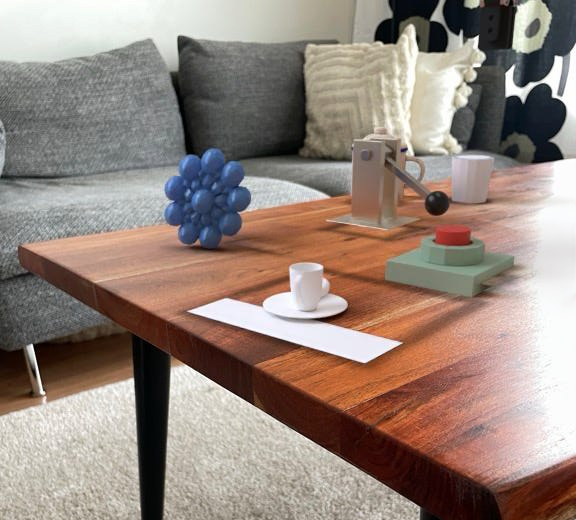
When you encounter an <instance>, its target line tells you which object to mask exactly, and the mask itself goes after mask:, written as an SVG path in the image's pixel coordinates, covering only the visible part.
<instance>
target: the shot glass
mask: <svg viewBox="0 0 576 520" xmlns="http://www.w3.org/2000/svg"><path fill="white" fill-rule="evenodd" d="M494 162H495V157H494V156H491V155H485V154H456V155H452V156H451V201H452V202H456V203H457V202H458V203H465V204H467V203H468V204H481V203H482V204H484V203H486V202H487V197H488V193H489V187H490V183H491V177H492V172H493V167H494Z"/></svg>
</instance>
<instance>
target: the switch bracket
mask: <svg viewBox="0 0 576 520" xmlns="http://www.w3.org/2000/svg"><path fill="white" fill-rule="evenodd" d="M362 139H363V138H362ZM362 139H360V138H356V139H353V143H352V144H353V170H352V169H351V179H352V196H351V201H350V203H351V204H350V213H346V214H343V215H338V216H336V217H332V218H329V219H326V220H325V221H326V222H333V223H339V224H345V225H350V226H358V227H365V228H369V229H370V228H372V229H378V230H385V231H390V230H393V229H396V228H398V227H402V226H405V225H408V224H411V223H414V222H417V221H421V220H422V218H419V217H412V216H406V215H405V216H404V215H398V201H399V200H398V199H399V198H398V186H399V178H398V177H397V176H395V175H394V174H393V173H392V172H391V171H389V170H388V169H387V168H386V167H385V166H384V164H385V145H386V146H387V147H388V148H390V149H391V150H392V153H391V155H390V158H391V159H392V160H394V161H395V162H396V163H397V164H398V165H400V152H401V142H402V139H401V138H398V137H397V138H396V137H395V138H383V137H370V140H362ZM375 139H379V140H380V141H376V140H375Z"/></svg>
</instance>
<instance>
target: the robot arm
mask: <svg viewBox="0 0 576 520" xmlns="http://www.w3.org/2000/svg"><path fill="white" fill-rule="evenodd" d="M518 4H519V0H479V7H480V12H479V13H480V14H479V26H478V40H477V49H478V50H479V51H496V50H497V51H499V50H511V49H512V48H513V45H514V34H515V24H516V14H517V13H516V12H517V6H518Z"/></svg>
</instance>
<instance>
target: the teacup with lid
mask: <svg viewBox="0 0 576 520" xmlns="http://www.w3.org/2000/svg"><path fill="white" fill-rule="evenodd" d="M387 131H388V129H387V127H385V126H375V127H374V128H373V133H370V134H368V135H366V136H365V137H364V138H362V140H370V137H383V138H396V137H395V136H394V135H392V134H389V133H387ZM350 150H351V151H352V152H351V153H352V155H351V171H352V170H353V143H352V145H351V147H350ZM407 151H409V147H408V144H407V143H406V142H404V141H401V152H400V166H401V167H402V168H403V169H404V170H406V165H407V162H415V163H417V164H418V165H419V167H420V173H419V176H418V178H416V180H418V181H419V182H420V183H421V182H422V181H423V179H424V177H425V173H426V165H425V163H424V161H423V160H422V159H421V158H419V157H417V156H412V155H411V156H409V155H407ZM350 182H351V183H350V196H351V197H352V178H351V181H350ZM406 189H407V190H409V189H411V188H410V187H409V186H407V185H406V184H405V183H404V182H403V181H401V180H400V179H399V186H398V199H401V198H403V197H405V196H404V195H405V190H406Z"/></svg>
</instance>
